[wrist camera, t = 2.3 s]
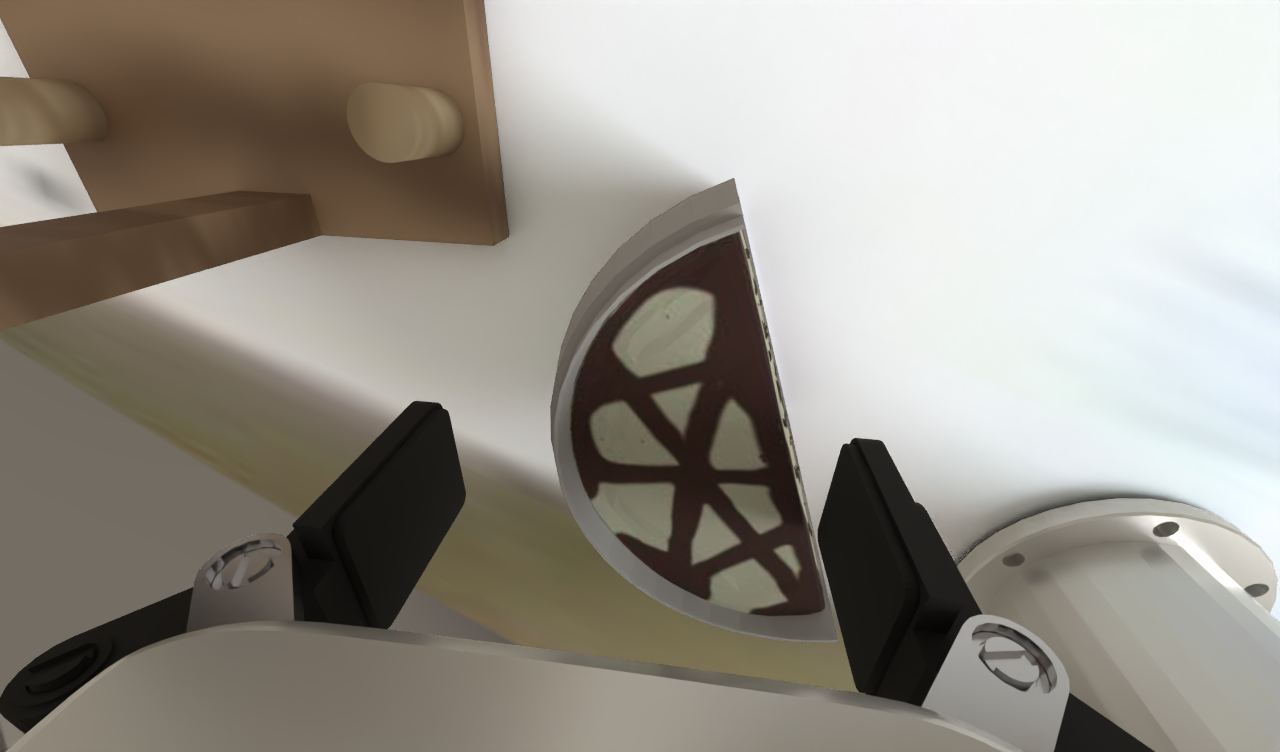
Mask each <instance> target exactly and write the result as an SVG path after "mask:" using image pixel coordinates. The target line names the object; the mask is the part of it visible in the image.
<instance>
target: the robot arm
mask: <svg viewBox="0 0 1280 752" xmlns="http://www.w3.org/2000/svg"><path fill="white" fill-rule="evenodd" d="M465 497H466V491H465V486H464V481H463V477H462V472H461V467H460V463H459V458H458V453H457V449H456V444H455V439H454V435H453V430H452V425H451V421H450V416H449V413H448V411H447V410H445V409H443V408H442V406H441V404H439V403H435V402H423V401H414V402H412V403H411V404H410V405H409V406H408V407H407V408H406V409H405V410H404V411H403V412H402V413H401V414H400V415H399V416H398V417H397V418H396V419H395V420H394V421H393V422H392V423H391V424H390V425H389V426H388V427H387V428H386V430H385V431H384V432H383V433H382V434H381V435H380V436H379V437H378V438H377V439H376V440H375V441H374V442H373V443H372V444H371V445H370V446H369V447H368V448H367V449H366V450H365V451H364V452H363V453H362V454H361V455H360V456H359V457H358V458H357V459H356V460H355V461H354V462H353V463H352V464H351V465H350V466H349V467H348V468H347V469H346V470H345V471H344V472H343V473H342V474H341V475H340V476H339V478H338V479H337V480H336V481H335V482H334V483H333V484H332V485H331V486H330V487H329V488H328V489H327V490H326V491H325V492H324V493H323V494H322V495H321V496H320V497H319V498H318V499H317V500H316V501H315V502H314V503H313V504H312V505H311V506H310V507H309V508H308V509H307V510H306V511H305V512H304V513H303V514H302V515H301V516H300V517H299V518H298V519H297V520H296V522H294V523H293V527H294V530H293V531H292V532H291V533H290V534H289V535H288V536H287V537H284V536H283V535H281V534H275V533H263V534H257V535H253V536H250V537H246V538H243V539H241V540H239V541H236V542H234V543H232V544H230V545H228V546H227V547H225V548H223V549H222V550H220V551H218V552H217V553H216V554H215V555H214V556H212V557H211V558H210V559H209V560H208V561H206V563H205V564H204V565H203V566H202V568H201V569H200V570H199V571H198V573H197V576H196V578H195V581H194V586H193V588H190V589H188V590H185V591H183V592H181V593H178V594H176V595H173V596H171V597H168V598H166V599H164V600H161V601H159V602H156V603H154V604H151V605H149V606H146V607H144V608H142V609H139V610H137V611H134V612H132V613H130V614H127V615H125V616H122V617H120V618H118V619H115V620H113V621H110V622H108V623H106V624H103V625H101V626H98V627H96V628H93V629H91V630H88V631H86V632H84V633H81V634H79V635H76V636H74V637H72V638H70V639H68V640H66V641H64V642H62V643H60V644H58V645H56V646H54V647H52V648H51V649H49V650H48V651H46V652H44V653H43V654H41V655H40V656H38V657H37V658H35V659H34V660H33V661H32V662H31V663H29V664H28V665H27V666H26V667H24V668H23V669H22V670H21V671H20V672H19V673H18V674H17V675H16V676H15V677H14V678H13V679H12V681H11V682H10V683H9V684H8V685H7V686H6V688H5V690H4V691H3V693H2V695H1V697H0V752H1280V622H1279V621H1278V620H1277V619H1276V618H1275V617H1274V616H1272V615H1271V614H1270V611H1271V609H1272V607H1273V605H1274V603H1275V600H1276V594H1277V583H1278V579H1277V576H1276V572H1275V569H1274V566H1273V562H1272V561H1271V560H1270V558H1269V557H1268V556H1267V555H1266V553H1265V552H1264V551H1263V549H1262V548H1261V547H1260V546H1259V545H1258V544H1257V543H1256V542H1254V541H1253V540H1252V539H1251V538H1249V537H1248V536H1247V535H1246V534H1244V533H1243V532H1242V531H1241V530H1239V529H1238V528H1237V527H1236V526H1234V525H1233V524H1232V523H1230V522H1228V521H1226V520H1224V519H1222V518H1221V517H1219V516H1217V515H1215V514H1213V513H1211V512H1209V511H1206V510H1203V509H1199V508H1196V507H1193V506H1190V505H1186V504H1183V503H1177V502H1170V501H1164V500H1157V499H1134V498H1115V499H1106V500H1097V501H1088V502H1081V503H1076V504H1072V505H1067V506H1063V507H1059V508H1054V509H1050V510H1047V511H1045V512H1042V513H1039V514H1036V515H1033V516H1030V517H1028V518H1025V519H1022V520H1020V521H1018V522H1016V523H1014V524H1012V525H1010V526H1008V527H1006V528H1004V529H1002V530H1000V531H998V532H996V533H995V534H993V535H992V536H991V537H989V538H988V539H986V540H985V541H983V542H982V543H980V544H979V545H978V546H976V547H975V548H974V549H973V550H972V551H971V552H970V553H969V554H968V555H967V556H966V557H965V558H964V559H963V560H962V561H961V562H960V563H959V564H958V566H956V564H955V562H954V561H953V559H952V557H951V555H950V553H949V551H948V550H947V548H946V546H945V544H944V542H943V540H942V539H941V537H940V535H939V533H938V531H937V529H936V528H935V526H934V524H933V522H932V520H931V518H930V517H929V515H928V513H927V511H926V510H925V508H924V507H923V506H922V505H921V504H919V503H916V502H914V500H913V498H912V496H911V494H910V492H909V490H908V489H907V487H906V485H905V483H904V481H903V479H902V477H901V475H900V473H899V471H898V470H897V468H896V466H895V464H894V462H893V460H892V458H891V456H890V454H889V453H888V451H887V449H886V447H885V445H884V443H883V442H882V441H880V440H872V439H860V438H854V439H852V441H851V443H850V444H843V446H842V448H841V451H840V455H839V458H838V461H837V465H836V468H835V472H834V475H833V479H832V482H831V486H830V489H829V492H828V496H827V499H826V503H825V506H824V510H823V513H822V517H821V520H820V524H819V527H818V543H819V547H820V551H821V555H822V559H823V563H824V567H825V571H826V574H827V578H828V582H829V586H830V590H831V594H832V598H833V601H834V605H835V609H836V613H837V617H838V621H839V625H840V628H841V632H842V636H843V640H844V644H845V648H846V652H847V655H848V659H849V663H850V667H851V671H852V675H853V678H854V682H855V685H856V688H857V690H858V691H859V692H861V693H866V694H861V693H856V692H850V691H843V690H837V689H830V688H824V687H817V686H811V685H804V684H798V683H791V682H785V681H778V680H771V679H764V678H757V677H749V676H742V675H735V674H727V673H720V672H713V671H705V670H698V669H691V668H683V667H676V666H669V665H661V664H654V663H647V662H639V661H631V660H624V659H616V658H609V657H601V656H593V655H586V654H578V653H570V652H563V651H555V650H547V649H540V648H532V647H524V646H517V645H509V644H500V643H492V642H485V641H477V640H469V639H460V638H452V637H445V636H437V635H429V634H421V633H413V632H405V631H397V630H388V628H389V627H390V626H391V625H392V623H393V622H394V620H395V618H396V617H397V615H398V613H399V612H400V610H401V608H402V607H403V605H404V603H405V602H406V600H407V598H408V597H409V595H410V593H411V592H412V590H413V588H414V587H415V585H416V583H417V582H418V580H419V578H420V577H421V575H422V573H423V572H424V570H425V568H426V567H427V565H428V563H429V562H430V560H431V558H432V557H433V555H434V553H435V552H436V550H437V548H438V547H439V545H440V543H441V542H442V540H443V538H444V537H445V535H446V533H447V532H448V530H449V528H450V527H451V525H452V523H453V522H454V520H455V518H456V517H457V515H458V513H459V512H460V510H461V508H462V507H463V505H464V502H465Z"/></svg>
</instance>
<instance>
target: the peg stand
mask: <svg viewBox="0 0 1280 752" xmlns="http://www.w3.org/2000/svg"><path fill="white" fill-rule="evenodd" d="M0 19H1V21H2V23H3V25H4V27H5V29H6V31H7V33H8V35H9V37H10V39H11V41H12V43H13V45H14V47H15V49H16V51H17V53H18V55H19V57H20V59H21V61H22V63H23V65H24V67H25V69H26V71H27V73H28V75H29V77H30V78H14V77H0V146H12V145H37V144H61V143H63V144H64V146H65V148H66V150H67V152H68V154H69V156H70V158H71V160H72V162H73V164H74V166H75V168H76V170H77V172H78V174H79V176H80V178H81V180H82V182H83V184H84V186H85V188H86V190H87V192H88V194H89V196H90V198H91V200H92V202H93V204H94V206H95V208H96V210H97V213H90V214H84V215H77V216H71V217H64V218H58V219H51V220H45V221H38V222H32V223H25V224H19V225H12V226H6V227H0V331H1V330H5V329H8V328H11V327H15V326H18V325H21V324H25V323H28V322H31V321H35V320H38V319H42V318H45V317H48V316H52V315H55V314H58V313H62V312H65V311H68V310H72V309H75V308H78V307H82V306H85V305H89V304H92V303H95V302H99V301H102V300H105V299H109V298H112V297H115V296H119V295H122V294H126V293H129V292H132V291H136V290H139V289H142V288H146V287H149V286H152V285H156V284H159V283H163V282H166V281H169V280H173V279H176V278H179V277H183V276H186V275H189V274H193V273H196V272H200V271H203V270H206V269H210V268H213V267H216V266H220V265H223V264H226V263H230V262H233V261H236V260H240V259H243V258H247V257H250V256H253V255H257V254H260V253H263V252H267V251H270V250H273V249H277V248H280V247H284V246H287V245H290V244H294V243H297V242H300V241H304V240H307V239H310V238H314V237H317V236H321V235H329V236H345V237H361V238H377V239H394V240H410V241H426V242H442V243H458V244H475V245H491V246H494V245H495V244H497V243H499V242H501V241H502V240H504V239H506V238H508V237H509V233H508V224H507V214H506V205H505V196H504V186H503V177H502V167H501V158H500V149H499V139H498V130H497V120H496V111H495V102H494V92H493V83H492V73H491V64H490V55H489V45H488V36H487V26H486V17H485V8H484V0H0Z"/></svg>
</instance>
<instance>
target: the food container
mask: <svg viewBox="0 0 1280 752" xmlns="http://www.w3.org/2000/svg"><path fill="white" fill-rule="evenodd" d="M550 408H551V441H552V446H553V451H554V457H555V462H556V467H557V472H558V476H559V481H560V486H561V489H562V491H563V494H564V496H565V499H566V501H567V504H568V506H569V509H570V511H571V513H572V515H573V517H574V519H575V520H576V522H577V523H578V525H579V527H580V528H581V530H582V532H583V533H584V535H585V537H586V538H587V540H588V541H589V542H590V543H591V544H592V546H593V547H594V548H595V549H596V550H597V552H598V553H599V554H600V555H601V556H602V558H603V559H604V560H605V561H606V562H607V563H608V564H609V565H610V566H611V567H613V568H614V569H615V570H616V571H617V572H618V573H619V574H620V575H621V576H623V577H624V578H625V579H626V580H627V581H628V582H630V583H631V584H632V585H634V586H635V587H637V588H638V589H640V590H641V591H643V592H644V593H645V594H647V595H648V596H650V597H651V598H653V599H654V600H656V601H658V602H660V603H662V604H664V605H666V606H668V607H669V608H671V609H673V610H675V611H677V612H679V613H681V614H683V615H686V616H688V617H691V618H693V619H696V620H698V621H701V622H703V623H706V624H708V625H712V626H715V627H719V628H722V629H726V630H729V631H733V632H736V633H740V634H745V635H750V636H756V637H761V638H767V639H772V640H784V641H797V642H838V639H837V635H836V630H835V626H834V621H833V617H832V612H831V608H830V603H829V599H828V594H827V590H826V585H825V581H824V576H823V572H822V567H821V563H820V558H819V554H818V549H817V545H816V540H815V536H814V531H813V527H812V522H811V518H810V513H809V509H808V504H807V500H806V495H805V491H804V486H803V482H802V477H801V473H800V468H799V464H798V459H797V455H796V450H795V446H794V441H793V437H792V432H791V428H790V423H789V419H788V414H787V410H786V405H785V401H784V397H783V392H782V388H781V383H780V379H779V374H778V370H777V365H776V361H775V356H774V352H773V347H772V343H771V339H770V334H769V330H768V325H767V321H766V316H765V312H764V307H763V303H762V298H761V294H760V289H759V285H758V280H757V276H756V272H755V267H754V263H753V258H752V254H751V249H750V245H749V240H748V236H747V231H746V227H745V222H744V218H743V214H742V209H741V205H740V200H739V196H738V193H737V189H736V184H735V180H734V178H733V179H730V180H728V181H726V182H723V183H721V184H719V185H716V186H714V187H712V188H709V189H707V190H704V191H702V192H700V193H697V194H695V195H693V196H691V197H689V198H687V199H686V200H684V201H682V202H681V203H679V204H678V205H676V206H674V207H673V208H671V209H669V210H668V211H666V212H665V213H663V214H661V215H660V216H658V217H657V218H655V219H653V220H652V221H650V222H649V223H648V224H647V225H646V226H645V227H643V228H642V229H641V230H640V231H639V232H638V233H636V234H635V235H634V236H633V237H632V238H631V239H629V240H628V241H627V242H626V243H625V244H624V245H623V246H621V247H620V248H619V249H618V250H617V251H616V252H615V254H614V255H613V256H612V257H611V258H610V260H609V261H608V262H607V263H606V264H605V266H604V267H603V268H602V269H601V270H600V272H599V273H598V274H597V275H596V276H595V278H594V279H593V280H592V282H591V283H590V285H589V287H588V288H587V290H586V292H585V294H584V295H583V297H582V299H581V301H580V302H579V304H578V306H577V308H576V309H575V311H574V313H573V315H572V318H571V321H570V324H569V327H568V329H567V332H566V335H565V338H564V340H563V343H562V346H561V351H560V356H559V362H558V367H557V372H556V378H555V384H554V390H553V395H552V401H551V407H550Z"/></svg>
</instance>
